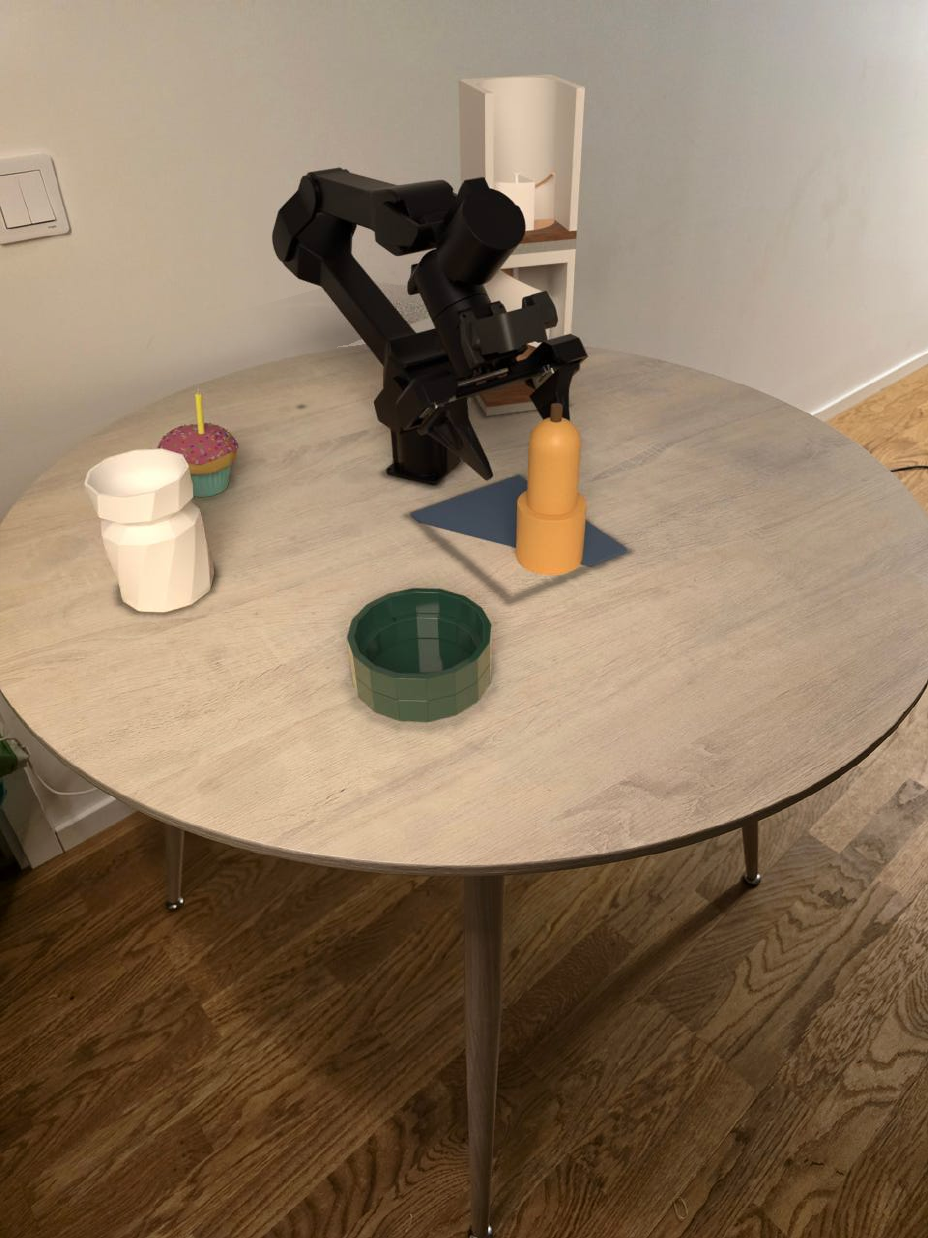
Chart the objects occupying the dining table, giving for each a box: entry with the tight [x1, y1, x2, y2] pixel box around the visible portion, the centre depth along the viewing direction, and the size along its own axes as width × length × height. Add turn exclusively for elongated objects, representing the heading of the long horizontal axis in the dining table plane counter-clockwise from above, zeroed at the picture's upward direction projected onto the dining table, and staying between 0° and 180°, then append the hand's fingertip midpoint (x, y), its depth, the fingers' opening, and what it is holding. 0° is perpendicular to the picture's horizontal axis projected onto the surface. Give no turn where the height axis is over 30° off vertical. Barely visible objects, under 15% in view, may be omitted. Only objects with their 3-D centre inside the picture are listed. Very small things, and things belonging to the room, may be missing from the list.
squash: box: [515, 403, 588, 576], centre depth 79 cm, size 6×6×16 cm
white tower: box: [458, 73, 586, 417], centre depth 103 cm, size 11×11×35 cm
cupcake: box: [156, 386, 239, 498], centre depth 92 cm, size 9×8×12 cm
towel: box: [410, 474, 628, 568], centre depth 87 cm, size 18×14×1 cm
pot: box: [346, 587, 493, 723], centre depth 69 cm, size 11×11×5 cm
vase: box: [83, 448, 215, 613], centre depth 78 cm, size 9×9×12 cm
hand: (530, 464), depth 80 cm, fingers open, 9 cm apart
